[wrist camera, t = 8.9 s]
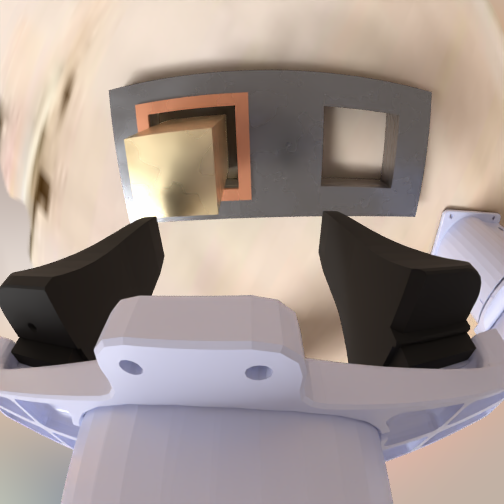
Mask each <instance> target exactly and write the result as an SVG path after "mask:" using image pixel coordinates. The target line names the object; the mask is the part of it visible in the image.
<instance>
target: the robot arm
mask: <svg viewBox="0 0 504 504" xmlns="http://www.w3.org/2000/svg"><path fill="white" fill-rule="evenodd" d="M450 214H451V216H450ZM500 219H501V215H500V214H499V213H491V212H478V211H464V210H445V211H444V212H443V213H442V217H441V221H440V225H439V228H438V232H437V235H436V239H435V242H434V246H433V249H432V252H431V254H428V253H424V252H421V251H418V250H415V249H412V248H409V247H406V246H404V245H401V244H399V243H397V242H394V241H392V240H390V239H388V238H386V237H383V236H382V235H380V234H378V233H376V232H374V231H372V230H370V229H369V228H367V227H365V226H363V225H362V224H360V223H358V222H356V221H355V220H353V219H351V218H350V217H348V216H346V215H344V214H342V213H340V212H338V211H323V214H322V225H321V235H320V244H319V256H320V261H321V265H322V269H323V272H324V275H325V277H326V280H327V283H328V285H329V288H330V290H331V293H332V296H333V298H334V301H335V303H336V306H337V309H338V312H339V316H340V320H341V324H342V329H343V334H344V339H345V344H346V350H347V356H348V363H341V362H333V361H325V360H317V359H310V358H305V354H304V348H303V343H302V337H301V331H300V327H299V323H298V319H297V316H296V313H295V312H294V311H293V310H291V309H290V308H288V307H287V306H286V305H284V304H283V303H282V302H280V301H279V300H276V299H270V298H264V297H258V296H252V295H241V296H151V295H152V293H153V290H154V288H155V285H156V283H157V280H158V278H159V275H160V272H161V268H162V264H163V260H164V252H163V247H162V242H161V237H160V232H159V227H158V222H157V217H156V216H153V217H143V218H140V219H138V220H136V221H134V222H132V223H130V224H129V225H127V226H125V227H124V228H122V229H120V230H119V231H117V232H115V233H114V234H112V235H110V236H108V237H107V238H105V239H103V240H101V241H100V242H98V243H96V244H94V245H93V246H91V247H89V248H87V249H84V250H82V251H80V252H78V253H76V254H74V255H71V256H69V257H66V258H64V259H61V260H59V261H56V262H53V263H50V264H47V265H43V266H40V267H36V268H32V269H28V270H24V271H19V272H14V273H12V274H10V275H9V277H8V278H7V279H6V280H5V281H4V283H3V284H2V285H1V286H0V307H1V309H2V311H3V313H4V315H5V316H6V318H7V320H8V321H9V323H10V324H11V326H12V328H13V329H14V330H15V332H16V333H17V335H18V337H19V339H18V341H17V342H16V343H15V342H13V341H12V340H10V339H8V338H5V337H1V336H0V411H1V412H2V413H3V414H4V415H5V416H7V417H8V418H10V419H12V420H14V421H16V422H18V423H20V424H22V425H23V426H25V427H28V428H29V429H31V430H33V431H35V432H37V433H39V434H41V435H43V436H45V437H47V438H49V439H51V440H53V441H55V442H57V443H60V444H62V445H64V446H66V447H69V448H71V449H73V453H72V457H71V461H70V465H69V469H68V473H67V477H66V482H65V486H64V491H63V496H62V501H61V504H393V500H392V494H391V489H390V484H389V479H388V475H387V469H386V464H385V462H386V461H389V460H392V459H394V458H397V457H400V456H402V455H405V454H408V453H411V452H413V451H415V450H418V449H420V448H422V447H425V446H427V445H429V444H431V443H434V442H436V441H438V440H440V439H443V438H444V437H447V436H449V435H451V434H453V433H455V432H457V431H459V430H461V429H463V428H465V427H467V426H469V425H471V424H473V423H474V422H476V421H478V420H480V419H482V418H484V417H486V416H487V415H488V414H490V413H491V412H492V411H493V410H494V409H495V408H496V407H497V406H498V405H499V404H500V403H501V402H502V401H503V400H504V227H503V226H501V225H500V224H499V222H500ZM470 313H471V315H472V316H473V318H474V319H475V321H476V322H477V324H478V325H477V326H476V328H475V329H474V331H475V333H476V335H475V336H474V337H472V338H470V337H469V335H468V333H467V332H468V331H469V330H470V325H469V324H468V322H467V321H466V319H467V318H468V316H469V314H470Z"/></svg>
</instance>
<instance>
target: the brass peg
mask: <svg viewBox="0 0 504 504" xmlns="http://www.w3.org/2000/svg"><path fill="white" fill-rule="evenodd" d="M124 144H125V151H126V157H127V164H128V170H129V176H130V181H131V187H132V192H133V197H134V202H135V207H136V212H137V217H138V219H140V218H143V217H153V216H156V217H157V218H161V217H178V216H196V215H218V213H219V208H220V204H221V200H222V195H223V191H224V187H225V182H226V178H227V174H228V170H229V163H228V145H227V125H226V114H225V115H210V116H199V117H189V118H180V119H171V120H168V121H165V122H162V123H160V124H157V125H155V126H153V127H150V128H148V129H145V130H143V131H141V132H139V133H136V134H134V135H132V136H130V137H127V138H125V139H124Z"/></svg>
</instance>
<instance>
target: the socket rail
mask: <svg viewBox="0 0 504 504" xmlns="http://www.w3.org/2000/svg"><path fill="white" fill-rule="evenodd" d="M431 95H432V92H429V91H425V90H422V89H418V88H414V87H410V86H405V85H401V84H397V83H392V82H387V81H382V80H376V79H370V78H364V77H358V76H350V75H343V74H334V73H323V72H311V71H292V70H244V71H225V72H212V73H202V74H193V75H185V76H178V77H171V78H165V79H159V80H153V81H148V82H143V83H138V84H133V85H129V86H125V87H120V88H116V89H112V90H109V97H110V108H111V117H112V125H113V133H114V140H115V147H116V153H117V160H118V165H119V171H120V177H121V182H122V187H123V192H124V197H125V202H126V206H127V211H128V215H129V220H130V223H132V222H134V221H136V220H138V217H137V212H136V207H135V202H134V197H133V192H132V187H131V181H130V176H129V170H128V164H127V157H126V151H125V144H124V139H125V138H127V137H130V136H132V135H134V134H136V133H139V132H141V131H143V130H145V129H148V128H150V127H153V126H155V125H157V124H159V114H158V113H162V112H169V111H177V110H185V109H194V108H205V107H217V106H232V105H235V118H236V140H237V162H238V179H226V182H225V187H224V191H223V195H222V200H221V204H220V208H219V213H218V215H196V216H178V217H161V218H157V222H168V221H186V220H205V219H228V218H256V217H295V216H322V214H323V211H338V212H340V213H342V214H344V215H346V216H408V217H415V215H416V210H417V206H418V201H419V196H420V191H421V185H422V179H423V173H424V167H425V160H426V153H427V145H428V136H429V126H430V113H431ZM324 106H332V107H343V108H353V109H362V110H370V111H377V112H384V113H387V116H386V131H385V143H384V154H383V163H382V172H381V179H380V180H377V179H356V178H321V174H322V154H323V127H324Z"/></svg>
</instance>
